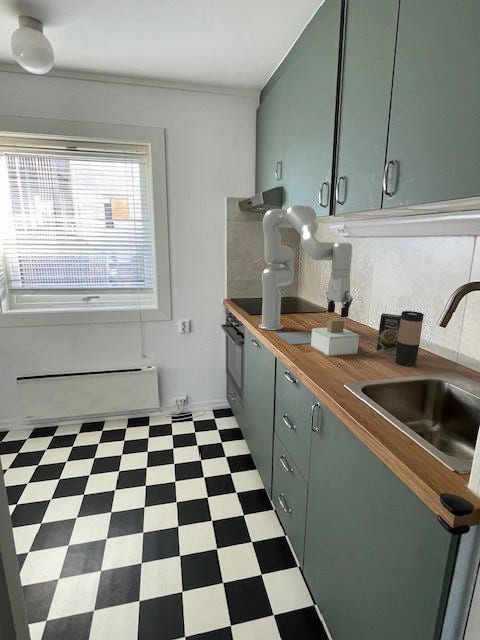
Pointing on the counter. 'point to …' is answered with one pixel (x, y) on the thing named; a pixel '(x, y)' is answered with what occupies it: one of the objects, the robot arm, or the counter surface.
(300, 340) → the mat
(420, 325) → the travel mug
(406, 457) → the counter surface
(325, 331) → the lid
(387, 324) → the coffee box
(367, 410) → the counter surface
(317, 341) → the storage box
